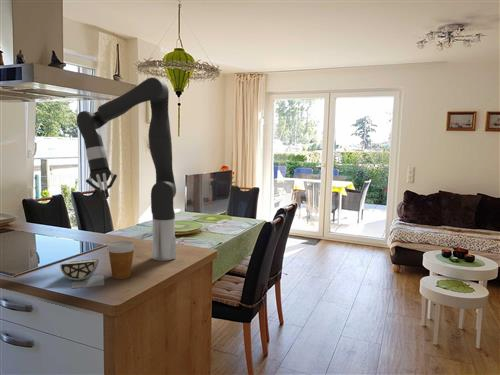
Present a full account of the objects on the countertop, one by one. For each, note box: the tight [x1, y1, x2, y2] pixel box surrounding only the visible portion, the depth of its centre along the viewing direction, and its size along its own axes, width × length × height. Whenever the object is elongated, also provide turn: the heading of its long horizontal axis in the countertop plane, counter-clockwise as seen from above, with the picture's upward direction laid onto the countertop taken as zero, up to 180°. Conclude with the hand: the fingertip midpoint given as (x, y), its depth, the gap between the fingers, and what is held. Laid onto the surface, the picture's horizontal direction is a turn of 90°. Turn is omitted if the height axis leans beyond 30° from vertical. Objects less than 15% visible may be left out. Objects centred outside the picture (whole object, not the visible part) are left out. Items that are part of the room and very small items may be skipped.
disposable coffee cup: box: [107, 240, 136, 280], centre depth 136 cm, size 10×10×12 cm
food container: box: [59, 258, 99, 281], centre depth 133 cm, size 12×6×10 cm
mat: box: [71, 274, 105, 290], centre depth 130 cm, size 10×10×1 cm
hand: (106, 198), depth 157 cm, fingers closed
